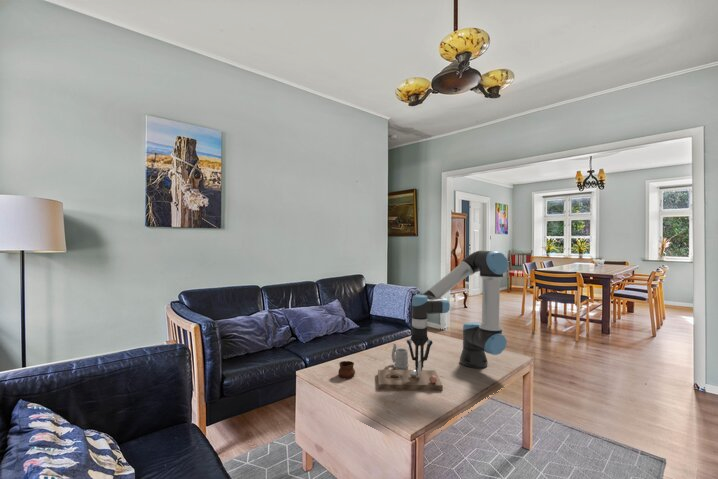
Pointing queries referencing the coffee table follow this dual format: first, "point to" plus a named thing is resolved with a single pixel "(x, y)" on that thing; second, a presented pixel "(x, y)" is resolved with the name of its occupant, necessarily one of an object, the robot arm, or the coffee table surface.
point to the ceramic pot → (346, 369)
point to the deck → (407, 380)
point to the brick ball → (433, 379)
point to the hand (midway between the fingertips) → (419, 374)
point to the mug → (400, 358)
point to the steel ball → (413, 373)
